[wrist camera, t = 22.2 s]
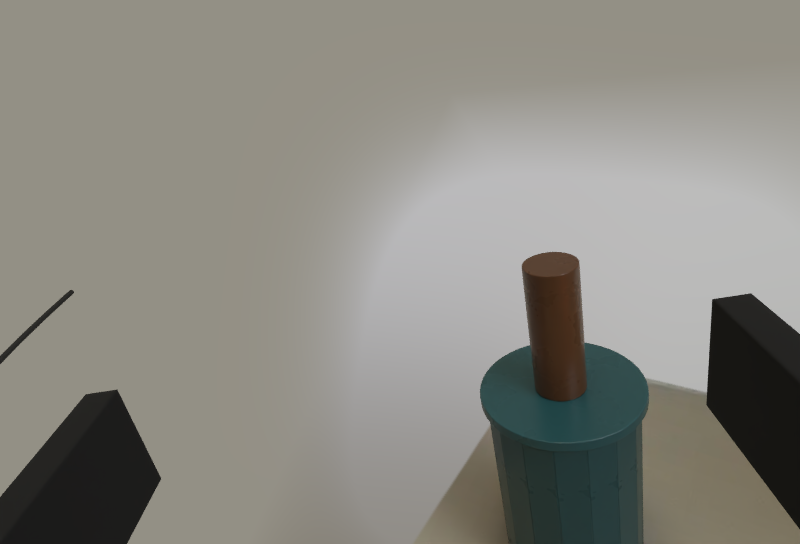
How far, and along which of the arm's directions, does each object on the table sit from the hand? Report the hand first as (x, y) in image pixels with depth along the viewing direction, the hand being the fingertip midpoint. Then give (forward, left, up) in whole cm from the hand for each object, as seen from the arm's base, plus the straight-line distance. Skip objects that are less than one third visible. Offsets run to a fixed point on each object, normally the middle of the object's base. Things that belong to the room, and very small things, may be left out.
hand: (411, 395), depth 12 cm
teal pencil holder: (-14, +10, -26) cm, 31 cm away
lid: (-14, +10, -13) cm, 21 cm away
